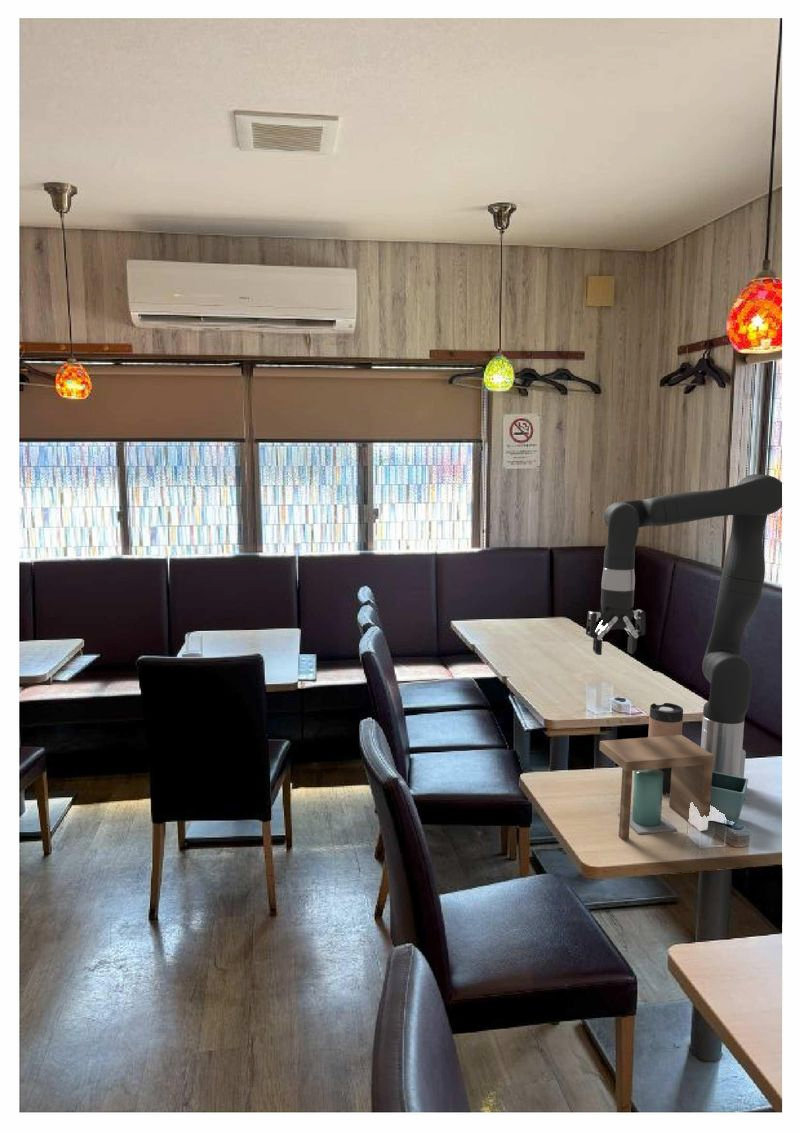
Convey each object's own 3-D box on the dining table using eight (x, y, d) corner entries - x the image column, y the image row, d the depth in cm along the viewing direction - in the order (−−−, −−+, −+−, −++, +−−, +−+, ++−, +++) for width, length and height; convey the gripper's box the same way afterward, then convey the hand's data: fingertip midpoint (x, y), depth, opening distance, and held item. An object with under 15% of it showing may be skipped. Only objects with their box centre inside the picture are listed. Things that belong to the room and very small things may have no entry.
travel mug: (672, 796, 184) (677, 714, 182) (640, 788, 189) (645, 708, 186) (682, 786, 190) (688, 706, 188) (651, 777, 195) (656, 700, 192)
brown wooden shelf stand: (677, 806, 180) (681, 734, 177) (708, 830, 168) (713, 754, 166) (596, 813, 175) (599, 740, 173) (622, 839, 164) (626, 762, 161)
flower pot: (741, 833, 167) (744, 793, 166) (697, 823, 172) (700, 784, 170) (745, 816, 175) (748, 778, 174) (703, 807, 179) (706, 770, 178)
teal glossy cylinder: (653, 813, 175) (655, 766, 174) (665, 825, 169) (668, 776, 168) (627, 815, 174) (629, 767, 173) (639, 827, 168) (641, 777, 167)
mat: (654, 811, 177) (654, 809, 177) (676, 830, 168) (676, 828, 168) (617, 815, 175) (618, 813, 175) (638, 834, 166) (638, 832, 166)
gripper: (597, 590, 181) (594, 659, 183) (653, 588, 184) (649, 656, 186) (583, 585, 188) (580, 651, 191) (637, 583, 191) (633, 648, 194)
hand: (614, 653), depth 189 cm, fingers open, 8 cm apart
